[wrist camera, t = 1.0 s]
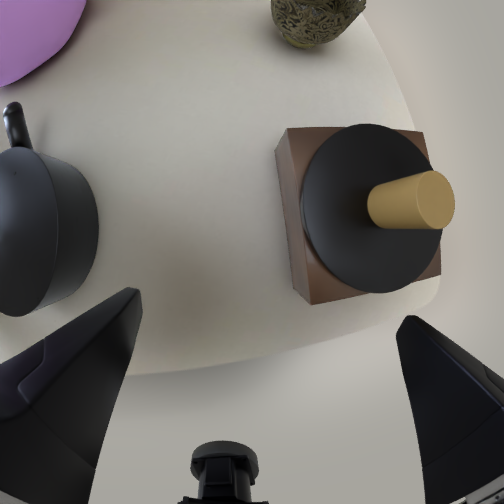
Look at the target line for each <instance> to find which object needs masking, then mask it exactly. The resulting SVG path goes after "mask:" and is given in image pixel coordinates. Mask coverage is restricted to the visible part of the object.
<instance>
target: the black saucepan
mask: <svg viewBox="0 0 504 504" xmlns="http://www.w3.org/2000/svg"><path fill="white" fill-rule="evenodd" d="M3 119H4V123H5V127H6V131H7V135H8V138H9V142H10V145H11V148H10V149H7V150H5V151H3V152H2V153H0V312H1V313H3V314H5V315H8V316H12V317H20V316H24V315H27V314H29V313H31V312H34V311H36V310H38V309H40V308H42V307H45V306H47V305H49V304H52V303H54V302H56V301H58V300H61V299H63V298H65V297H68V296H69V295H71V294H72V293H74V292H75V291H76V290H77V289H78V288H79V287H80V286H81V284H82V283H83V282H84V280H85V279H86V277H87V275H88V273H89V271H90V269H91V267H92V264H93V261H94V258H95V254H96V250H97V243H98V230H99V225H98V213H97V207H96V203H95V199H94V196H93V193H92V191H91V188H90V186H89V184H88V182H87V181H86V179H85V178H84V177H83V175H82V174H81V173H80V172H79V171H78V170H77V169H76V168H74V167H73V166H71V165H69V164H67V163H65V162H62V161H60V160H57V159H55V158H52V157H49V156H47V155H44V154H42V153H39V152H36V151H34V150H33V147H32V144H31V140H30V137H29V133H28V129H27V126H26V122H25V118H24V113H23V109H22V106H21V104H20V103H18V102H12V103H10V104H8V105H7V107H6V108H5V110H4V113H3Z"/></svg>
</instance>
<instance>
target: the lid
mask: <svg viewBox="0 0 504 504" xmlns="http://www.w3.org/2000/svg"><path fill="white" fill-rule="evenodd" d="M454 209H455V200H454V194H453V190H452V188H451V186H450V184H449V182H448V180H447V179H446V178H445V177H444V176H443V175H442V174H440V173H438V172H437V171H434V170H433V168H432V167H431V165H430V163H429V161H428V160H427V158H426V157H425V155H424V154H423V153H422V152H421V151H420V149H419V148H418V147H417V146H416V145H415V144H414V143H413V142H412V141H410V140H409V139H408V138H406V137H405V136H404V135H402V134H400V133H399V132H397V131H395V130H393V129H390V128H388V127H385V126H381V125H376V124H357V125H352V126H349V127H346V128H343V129H341V130H339V131H338V132H336V133H334V134H333V135H332V136H330V137H329V138H328V139H327V140H326V141H324V142H323V143H322V145H321V146H320V147H319V148H318V149H317V150H316V151H315V153H314V154H313V156H312V157H311V159H310V161H309V163H308V165H307V167H306V170H305V173H304V176H303V179H302V185H301V191H300V212H301V219H302V224H303V229H304V232H305V235H306V238H307V241H308V243H309V245H310V247H311V249H312V251H313V253H314V254H315V256H316V257H317V259H318V260H319V262H320V263H321V264H322V265H323V267H324V268H325V269H326V270H327V271H328V272H329V273H330V274H331V275H332V276H334V277H335V278H337V279H338V280H339V281H341V282H342V283H344V284H346V285H348V286H350V287H352V288H354V289H357V290H360V291H363V292H369V293H387V292H392V291H395V290H398V289H401V288H403V287H405V286H407V285H409V284H410V283H412V282H413V281H414V280H416V279H417V278H418V277H419V276H420V275H421V274H422V273H423V272H424V271H425V269H426V268H427V267H428V266H429V264H430V262H431V261H432V259H433V257H434V255H435V253H436V251H437V249H438V246H439V243H440V240H441V235H442V231H443V228H444V227H446V226H447V225H448V224H449V223H450V221H451V219H452V217H453V214H454Z"/></svg>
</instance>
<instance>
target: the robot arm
mask: <svg viewBox="0 0 504 504" xmlns="http://www.w3.org/2000/svg"><path fill="white" fill-rule="evenodd" d="M142 313H143V309H142V301H141V293H140V290H139V289H136V288H130V287H127V288H125V289H123V290H121V291H120V292H118V293H116V294H115V295H113V296H111V297H110V298H108V299H106V300H105V301H103V302H101V303H100V304H98V305H96V306H95V307H93V308H92V309H90V310H88V311H87V312H85V313H83V314H82V315H80V316H79V317H77V318H75V319H74V320H72V321H70V322H69V323H67V324H66V325H64V326H63V327H61V328H59V329H58V330H56V331H55V332H53V333H51V334H50V335H48V336H47V337H45V339H42V340H40V341H39V342H37V343H36V344H34V345H33V346H31V347H29V348H28V349H26V350H25V351H23V352H21V353H20V354H18V355H16V356H14V357H13V358H11V359H9V360H7V361H5V362H3V363H2V364H0V504H88V501H89V497H90V492H91V488H92V483H93V479H94V475H95V471H96V470H95V469H96V466H97V463H98V459H99V455H100V451H101V448H102V444H103V441H104V437H105V433H106V430H107V427H108V424H109V421H110V418H111V414H112V411H113V408H114V405H115V402H116V399H117V396H118V393H119V390H120V387H121V385H122V382H123V379H124V376H125V374H126V371H127V368H128V365H129V363H130V360H131V357H132V353H133V349H134V345H135V341H136V337H137V333H138V330H139V326H140V322H141V319H142ZM396 341H397V346H398V351H399V356H400V361H401V366H402V372H403V376H404V380H405V384H406V388H407V392H408V396H409V400H410V404H411V409H412V413H413V418H414V423H415V428H416V433H417V438H418V444H419V450H420V456H421V463H422V471H423V480H424V490H425V503H426V504H450V503H452V502H454V501H457V500H459V499H461V498H463V497H465V498H466V500H464V501H463V502H461V503H459V504H504V379H503V378H501V377H500V376H499V375H497V374H496V373H495V372H493V371H492V370H491V369H489V368H488V367H487V366H485V365H484V364H482V363H481V362H480V361H479V360H477V359H476V358H475V357H473V356H472V355H470V354H469V353H468V352H467V351H465V350H464V349H463V348H461V347H460V346H459V345H457V344H456V343H454V342H453V341H452V340H450V339H449V338H448V337H446V336H445V335H443V334H442V333H441V332H439V331H438V330H436V329H435V328H434V327H432V326H431V325H429V324H428V323H426V322H425V321H424V320H422V319H421V318H419V317H418V316H415V315H408V316H406V317H405V319H404V320H403V322H402V324H401V326H400V327H399V329H398V331H397V333H396ZM243 458H245V459H243ZM196 461H197V462H196ZM192 465H193V467H194V469H195V471H196V473H197V475H198V477H199V490H198V499H196V498H189V497H187V496H184V497H183V501H181V502H178V504H269V503H268V501H263V502H252V501H251V492H250V486H252V485H255V479H254V476H253V472H252V468H251V464H250V461H249V457H248V456H247V455H236V456H223V457H205V458H192Z"/></svg>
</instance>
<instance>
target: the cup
mask: <svg viewBox="0 0 504 504" xmlns="http://www.w3.org/2000/svg"><path fill="white" fill-rule="evenodd" d="M365 4H366V0H361V1H359V0H271V12H272V17H273V20H274V22H275V24H276V26H277V27H278V28H279V30H280V31H281V32H282V34H283V37H284V39H285V40H286V41H287V42H288V43H289V44H290V45H292V46H294V47H297V48H301V49H308V48H312V47H314V46H316V45H317V44H322V43H327V42H329V41H332V40H334V39H335V38H337V37H338V36H339V35H340V34H341V33H343V32H344V31H345V30H346V28H347V27H348V26H349V25H350V24H351V23H352V22H353V21H354V20H355V19H356V17H357V16H358V15H359V14H360V13H361V12H362V11H363V10H364V9H365V7H366V6H364V5H365Z"/></svg>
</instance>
